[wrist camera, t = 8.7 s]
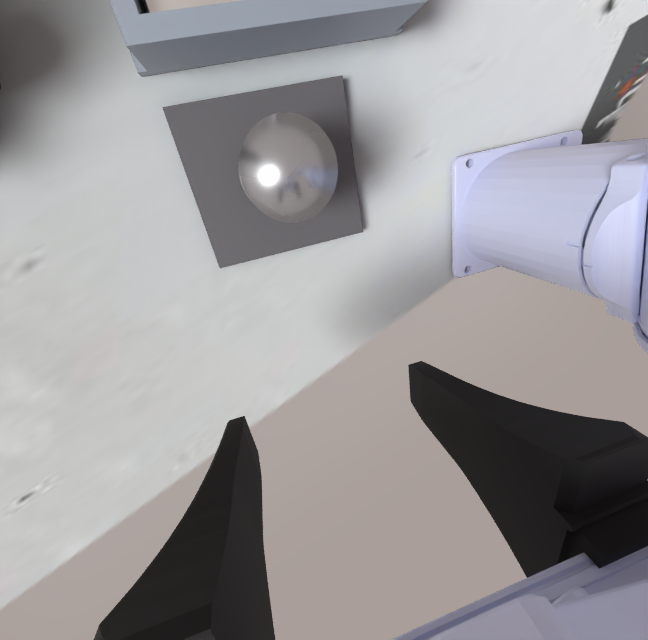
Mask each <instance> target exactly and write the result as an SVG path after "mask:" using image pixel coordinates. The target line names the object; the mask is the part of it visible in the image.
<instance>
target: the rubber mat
mask: <svg viewBox="0 0 648 640" xmlns="http://www.w3.org/2000/svg"><path fill="white" fill-rule="evenodd" d="M163 110H164V113H165V116H166V119H167V121H168V124H169V127H170V130H171V133H172V135H173V138H174V141H175V144H176V147H177V149H178V152H179V155H180V158H181V161H182V163H183V166H184V169H185V172H186V175H187V177H188V180H189V183H190V186H191V189H192V192H193V194H194V197H195V200H196V203H197V206H198V208H199V211H200V214H201V217H202V220H203V222H204V225H205V228H206V231H207V234H208V236H209V239H210V242H211V245H212V248H213V250H214V253H215V256H216V259H217V262H218V264H219V267H220V268H223V267H227V266H231V265H235V264H239V263H243V262H247V261H251V260H255V259H258V258H262V257H266V256H270V255H274V254H278V253H282V252H286V251H290V250H294V249H298V248H302V247H306V246H310V245H313V244H317V243H321V242H325V241H329V240H333V239H337V238H341V237H345V236H349V235H353V234H357V233H361V232H363V228H362V220H361V213H360V205H359V198H358V190H357V183H356V175H355V167H354V160H353V152H352V145H351V137H350V130H349V122H348V115H347V107H346V99H345V92H344V84H343V77H342V76H337V77H331V78H326V79H320V80H314V81H309V82H303V83H298V84H292V85H286V86H281V87H275V88H269V89H264V90H258V91H252V92H247V93H241V94H235V95H230V96H224V97H219V98H213V99H207V100H202V101H196V102H190V103H185V104H179V105H173V106H168V107H163ZM280 112H290V113H296V114H300V115H303V116H305V117H307V118H309V119H311V120H312V121H314V122H315V123H316V124H317V125H319V126H320V127H321V128H322V129H323V131H324V132H325V133H326V135H327V136H328V137H329V139H330V141H331V143H332V145H333V147H334V150H335V153H336V157H337V163H338V178H337V183H336V187H335V190H334V193H333V195H332V197H331V199H330V200H329V202H328V203H327V205H326V206H325V207H324V208H323V209H322V210H321V211H320V212H319V213H318V214H316V215H315V216H313V217H311V218H309V219H307V220H304V221H300V222H282V221H278V220H275V219H273V218H271V217H269V216H267V215H265V214H264V213H262V212H261V211H260V210H259V209H258V208H257V207H256V206H255V205H254V204H253V203H252V202H251V201H250V199H249V198H248V197H247V195H246V194H245V192H244V191H243V189H242V186H241V184H240V180H239V175H238V163H239V157H240V152H241V148H242V145H243V142H244V140H245V138H246V136H247V134H248V133H249V131H250V130H251V129H252V128H253V127H254V125H255V124H257V123H258V122H259V121H260V120H262V119H263V118H265V117H267V116H269V115H272V114H276V113H280Z"/></svg>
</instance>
